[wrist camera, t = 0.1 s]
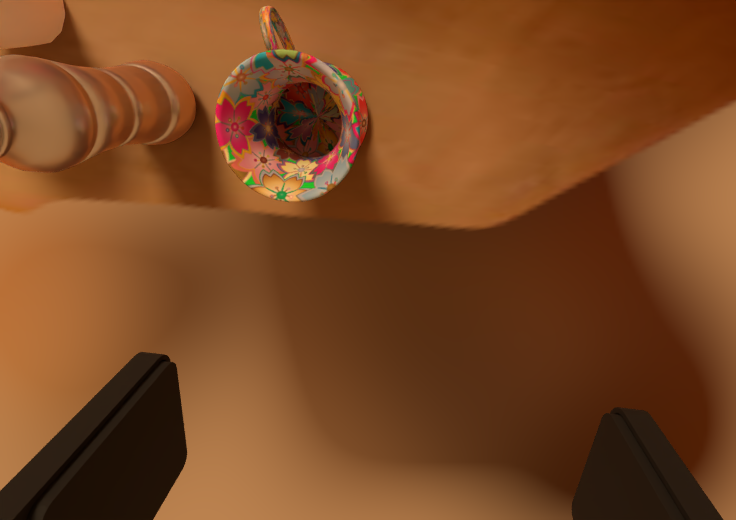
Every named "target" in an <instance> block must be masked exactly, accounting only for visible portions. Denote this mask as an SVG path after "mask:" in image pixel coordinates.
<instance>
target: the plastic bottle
mask: <svg viewBox="0 0 736 520" xmlns="http://www.w3.org/2000/svg"><path fill="white" fill-rule="evenodd" d="M195 115H196V102H195V98H194V94H193V92H192V90H191V88H190V86H189V84H188V83H187V81H186V80H185V79H184V78H183V77H182V76H181V75H180V74H179V73H177V72H176V71H175V70H173V69H171V68H169V67H168V66H165V65H162V64H159V63H156V62H153V61H147V60H140V61H133V62H128V63H124V64H121V65H119V66H114V67H105V68H92V67H82V66H73V65H69V64H64V63H60V62H56V61H51V60H47V59H43V58H38V57H31V56H24V55H15V54H12V55H4V56H0V162H2V163H4V164H7V165H9V166H11V167H13V168H17V169H20V170H23V171H32V172H43V173H51V172H58V171H61V170H64V169H67V168H70V167H73V166H75V165H77V164H79V163H81V162H83V161H85V160H87V159H89V158H91V157H93V156H95V155H97V154H99V153H101V152H104V151H107V150H110V149H113V148H116V147H119V146H123V145H132V144H147V145H157V144H167V143H170V142H173V141H174V140H176V139H178V138H179V137H181V136H182V135H184V134H185V133H186V132H187V131H188V130H189V129H190V127H191V126H192V124H193V122H194V119H195Z"/></svg>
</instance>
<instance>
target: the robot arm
mask: <svg viewBox="0 0 736 520" xmlns="http://www.w3.org/2000/svg"><path fill="white" fill-rule="evenodd" d="M186 457H187V448H186V439H185V431H184V423H183V415H182V406H181V398H180V390H179V382H178V374H177V367H176V364H175V363H173V362H170V359H169V357H168V356H167V355H163V354H155V353H146V352H140V353H138V354H137V355H135V356H134V357H133V358H132V359H131V360H130V361H129V362H128V363H127V364H126V365H125V366H124V368H122V369H121V370H120V372H118V373H117V374H116V375H115V376H114V377H113V378H112V379H111V380H110V381H109V382H108V383H107V384H106V385H105V386H104V387H103V388H102V389H101V390H100V391H99V392H98V393H97V394H96V395H95V396H94V398H92V399H91V401H89V402H88V403H87V405H86V406H84V408H82V410H80V412H79V413H77V415H75V416H74V417H73V418H72V420H70V422H69V423H68V424H67V425H66V426H65V427H64V428H63V429H62V430H61V431H60V432H59V433H58V434H57V435H56V436H55V437H54V438H53V439H52V440H51V441H50V442H49V443H48V444H47V445H46V446H45V447H44V448H43V449H42V450H41V451H40V452H39V453H38V454H37V455H36V456H35V457H34V458H33V459H32V460H31V461H30V462H29V463H28V464H27V465H26V466H25V467H24V468H23V469H22V470H21V471H20V472H19V473H18V474H17V475H16V476H15V477H14V478H13V479H12V480H11V481H10V482H9V483H8V484H7V485H6V486H5V487H4V488H3V489H2V490H1V491H0V520H153V519H154V517H155V515H156V514H157V512H158V510H159V508H160V507H161V505H162V503H163V502H164V500H165V498H166V497H167V495H168V493H169V491H170V489H171V488H172V486H173V485H174V483H175V481H176V479H177V478H178V476H179V474H180V472H181V471H182V469H183V467H184V465H185V462H186ZM572 516H573V520H723V519H722V517H721V516H720V514H719V513H718V512H717V510H716V509H715V507H714V506H713V504H712V503H711V501H710V500H709V499H708V497H707V496H706V494H705V493H704V491H703V490H702V488H701V487H700V486H699V484H698V483H697V481H696V480H695V478H694V477H693V476H692V474H691V473H690V471H689V470H688V468H687V467H686V465H685V464H684V463H683V461H682V460H681V458H680V457H679V455H678V454H677V453H676V451H675V450H674V448H673V447H672V446H671V444H670V443H669V441H668V440H667V438H666V437H665V435H664V434H663V432H662V431H661V430H660V428H659V427H658V425H657V424H656V422H655V421H654V420H653V418H652V417H651V415H650V414H649V413H648V412H646V411H644V410H636V409H627V408H619V407H617V408H614V409H613V410H612V411H611V413H610V414H609V413H606V414H604V415H603V417H602V419H601V423H600V425H599V428H598V431H597V433H596V436H595V439H594V442H593V445H592V448H591V450H590V453H589V456H588V459H587V462H586V465H585V468H584V470H583V473H582V476H581V479H580V482H579V485H578V488H577V490H576V493H575V496H574V499H573V502H572Z"/></svg>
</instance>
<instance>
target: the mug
mask: <svg viewBox="0 0 736 520" xmlns="http://www.w3.org/2000/svg"><path fill="white" fill-rule="evenodd" d="M259 20H260V27H261V32H262V36H263V39H264V42H265V45H266V48H267V51H265V52H262V53H259V54H256V55H254V56H252V57H250V58H248V59H247V60H245V61H244V62H242V63H241V64H240V65H239V66H238V67H236V68H235V69H234V71H233V72H232V73H231V74H230V75H229V77H228V78H227V80H226V81H225V83H224V85H223V87H222V89H221V92H220V94H219V97H218V101H217V106H216V113H215V126H216V134H217V139H218V143H219V146H220V149H221V151H222V154H223V156H224V158H225V160H226V161H227V163H228V165H229V166H230V168H231V169H232V171H233V172H234V173H235V174H236V175H237V177H238V178H239V179H240V180H241V181H242V182H244V183H245V184H246V185H247V186H248V187H250V188H251V189H253V190H254V191H256V192H258V193H259V194H261V195H264V196H266V197H268V198H271V199H274V200H278V201H284V202H303V201H308V200H312V199H315V198H318V197H320V196H322V195H324V194H326V193H328V192H329V191H331V190H332V189H334V188H335V187H336V186H337V185H338V184H339V183H340V182H341V181H342V180H343V179H344V178H345V176H346V175H347V174H348V172H349V170H350V169H351V167H352V165H353V163H354V161H355V158H356V155H357V152H358V149H359V147H360V146H361V144H362V142H363V140H364V137H365V134H366V131H367V125H368V111H367V105H366V101H365V98H364V96H363V94H362V91H361V90H360V88H359V86H358V85H357V83H356V82H355V81H354V80H353V78H352V77H350V76H349V75H348V74H347V73H346V72H345V71H343V70H342V69H340V68H338V67H336V66H334V65H332V64H329V63H325V62H322V61H320V60H319V59H317V58H315V57H313V56H311V55H308V54H305V53H302V52H299V51H295V48H294V45H293V43H292V40H291V38H290V35H289V33H288V31H287V29H286V27H285V25H284V23H283V21H282V19H281V17H280V15H279V14H278V12H277V11H276V10H275V9H274V8H273V7H272V6H265V7H263V8H261V10H260V13H259ZM272 25H273V26H274V28H275V30H276V32H277V34H278V36H279V38H280V41H281V43H282V45H283V48H284V49H279V47H278V45H277V42H276V39H275V35H274V31H273V27H272Z"/></svg>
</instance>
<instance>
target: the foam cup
mask: <svg viewBox="0 0 736 520" xmlns="http://www.w3.org/2000/svg"><path fill="white" fill-rule="evenodd" d="M64 19H65V9H64V3H63V0H0V49H9V48H19V47H28V46H34V45H41V44H46V43H51V42H52V41H53V40H54V39H55V38H56V37H57V36H58V35H59V34H60V33H61V32H62V28H63V23H64Z"/></svg>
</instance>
